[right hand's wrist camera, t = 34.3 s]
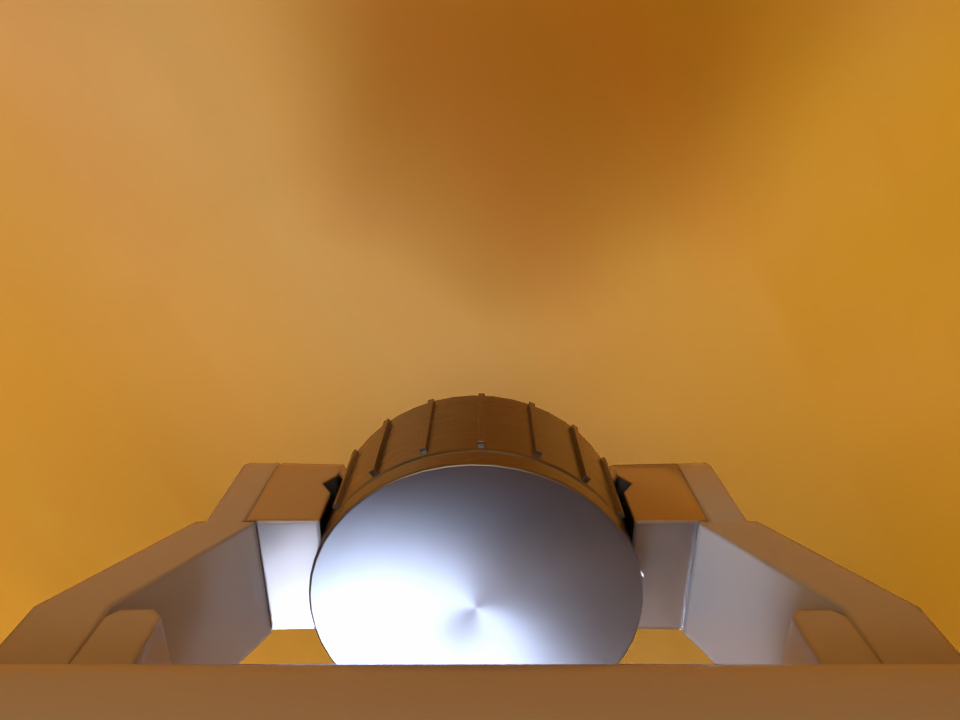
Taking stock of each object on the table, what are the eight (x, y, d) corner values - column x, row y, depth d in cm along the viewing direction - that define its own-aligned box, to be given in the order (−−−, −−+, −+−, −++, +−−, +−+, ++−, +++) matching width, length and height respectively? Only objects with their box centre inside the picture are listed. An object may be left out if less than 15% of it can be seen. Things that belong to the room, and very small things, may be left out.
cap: (530, 335, 9) (541, 395, 7) (667, 557, 10) (704, 652, 9) (277, 476, 10) (233, 560, 8) (435, 663, 11) (427, 769, 9)
